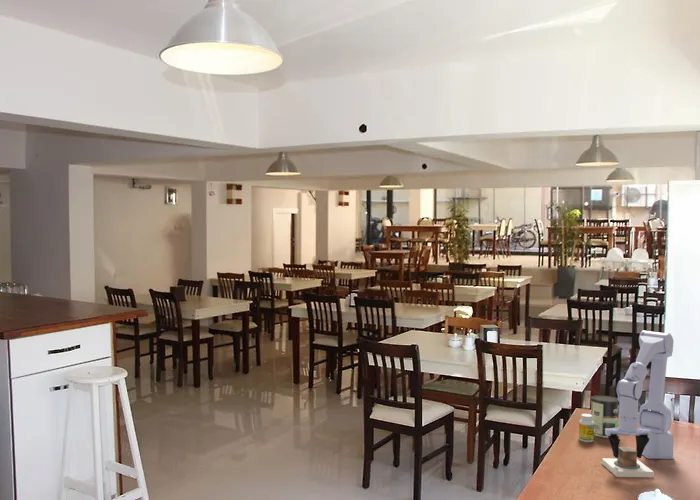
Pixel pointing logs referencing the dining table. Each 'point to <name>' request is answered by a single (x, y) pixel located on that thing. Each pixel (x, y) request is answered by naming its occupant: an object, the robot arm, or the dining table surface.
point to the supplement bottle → (586, 428)
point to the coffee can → (604, 413)
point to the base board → (627, 469)
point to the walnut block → (627, 456)
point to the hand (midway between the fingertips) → (627, 457)
